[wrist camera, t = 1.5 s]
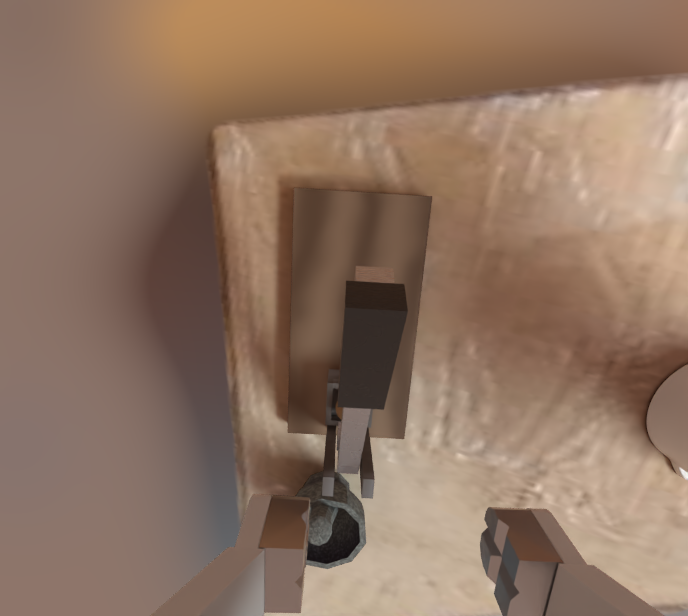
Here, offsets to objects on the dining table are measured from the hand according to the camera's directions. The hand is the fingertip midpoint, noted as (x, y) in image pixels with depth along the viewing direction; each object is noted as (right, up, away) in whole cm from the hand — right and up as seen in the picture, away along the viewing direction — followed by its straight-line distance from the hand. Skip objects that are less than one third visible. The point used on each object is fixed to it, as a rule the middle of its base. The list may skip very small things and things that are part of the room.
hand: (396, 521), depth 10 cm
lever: (0, 0, +19) cm, 19 cm away
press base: (0, +4, +33) cm, 33 cm away
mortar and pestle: (-4, -18, +39) cm, 43 cm away
